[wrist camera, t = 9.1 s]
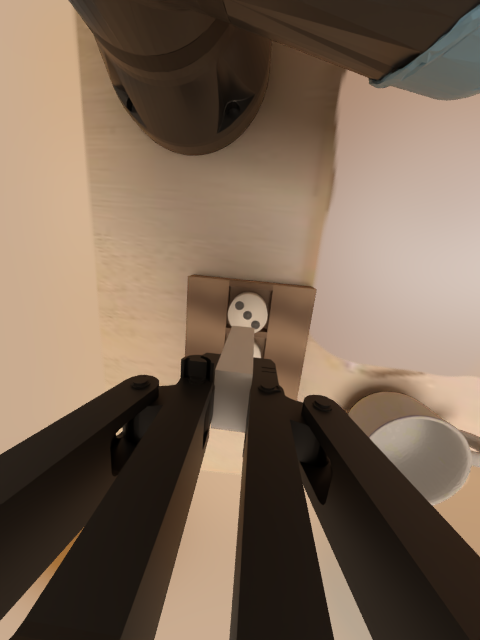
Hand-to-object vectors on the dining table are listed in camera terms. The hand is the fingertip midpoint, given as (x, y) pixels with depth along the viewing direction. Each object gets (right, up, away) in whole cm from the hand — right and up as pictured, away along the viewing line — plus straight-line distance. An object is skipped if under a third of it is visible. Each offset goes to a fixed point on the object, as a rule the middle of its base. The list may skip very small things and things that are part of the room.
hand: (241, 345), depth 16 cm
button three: (+1, +3, +10) cm, 11 cm away
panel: (+1, -2, +14) cm, 14 cm away
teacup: (+20, -11, +15) cm, 27 cm away
